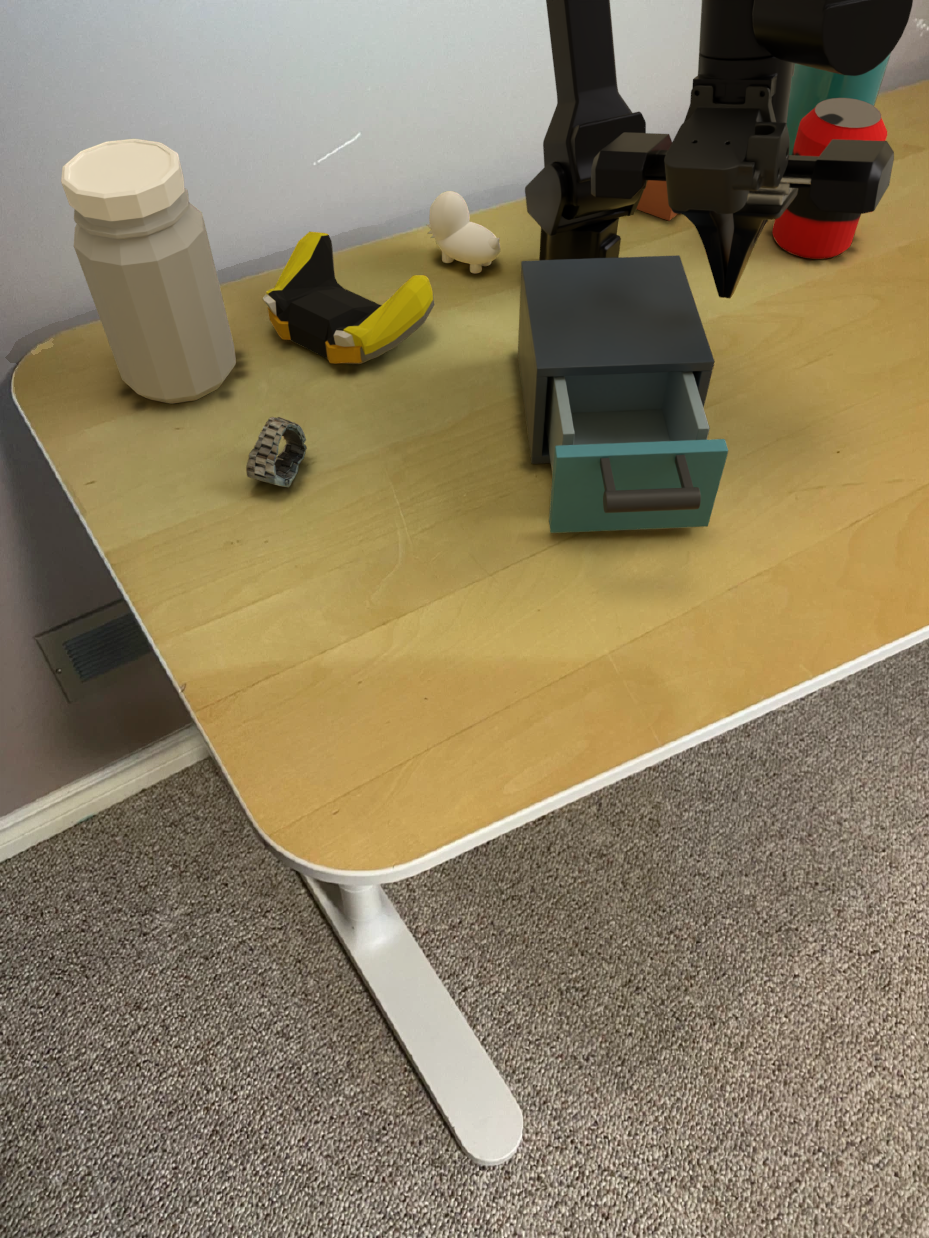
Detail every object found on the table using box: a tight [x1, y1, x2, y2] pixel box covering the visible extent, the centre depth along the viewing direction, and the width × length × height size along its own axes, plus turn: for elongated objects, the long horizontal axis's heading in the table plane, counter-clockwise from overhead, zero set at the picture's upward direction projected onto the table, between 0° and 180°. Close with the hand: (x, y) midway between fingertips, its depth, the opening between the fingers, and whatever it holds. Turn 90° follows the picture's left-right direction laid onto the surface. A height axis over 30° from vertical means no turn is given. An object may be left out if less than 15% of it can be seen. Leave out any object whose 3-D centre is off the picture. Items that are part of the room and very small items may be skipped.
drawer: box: [544, 371, 729, 534], centre depth 68 cm, size 17×11×8 cm
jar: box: [60, 138, 237, 405], centre depth 75 cm, size 10×10×18 cm
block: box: [636, 180, 678, 222], centre depth 96 cm, size 4×4×4 cm
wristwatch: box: [245, 416, 308, 488], centre depth 73 cm, size 3×5×5 cm
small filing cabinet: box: [517, 254, 716, 465], centre depth 75 cm, size 14×13×9 cm
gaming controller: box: [262, 231, 435, 365], centre depth 84 cm, size 15×6×10 cm
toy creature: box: [426, 190, 502, 274], centre depth 90 cm, size 5×8×6 cm, turn 56°
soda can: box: [771, 98, 888, 260], centre depth 89 cm, size 8×8×12 cm
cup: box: [786, 52, 892, 155], centre depth 100 cm, size 9×12×11 cm
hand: (726, 296), depth 69 cm, fingers closed
